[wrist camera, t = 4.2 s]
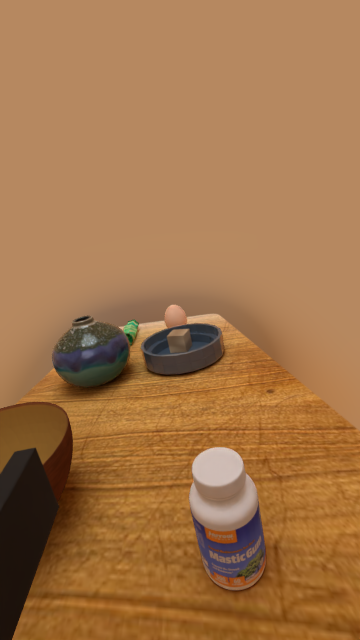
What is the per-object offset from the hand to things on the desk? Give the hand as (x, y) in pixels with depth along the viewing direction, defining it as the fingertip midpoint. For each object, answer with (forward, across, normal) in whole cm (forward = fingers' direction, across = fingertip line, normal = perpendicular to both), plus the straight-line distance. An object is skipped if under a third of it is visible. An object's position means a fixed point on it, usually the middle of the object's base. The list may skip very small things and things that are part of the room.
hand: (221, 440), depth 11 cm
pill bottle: (+10, 0, -20) cm, 22 cm away
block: (+56, -1, -19) cm, 59 cm away
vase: (+50, -19, -20) cm, 57 cm away
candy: (+72, -14, -20) cm, 76 cm away
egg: (+69, -1, -20) cm, 72 cm away
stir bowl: (+52, -1, -20) cm, 56 cm away
